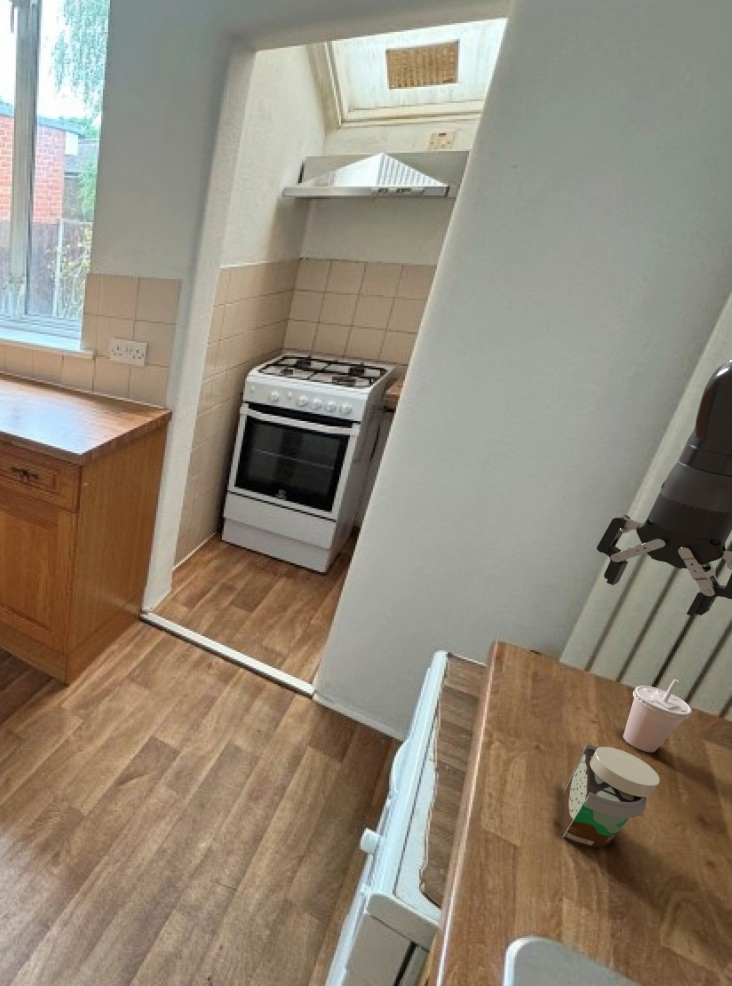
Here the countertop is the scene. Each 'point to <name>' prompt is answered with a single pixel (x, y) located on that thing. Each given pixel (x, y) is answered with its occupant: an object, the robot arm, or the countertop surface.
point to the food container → (595, 806)
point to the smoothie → (654, 716)
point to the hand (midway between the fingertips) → (650, 598)
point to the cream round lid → (624, 771)
